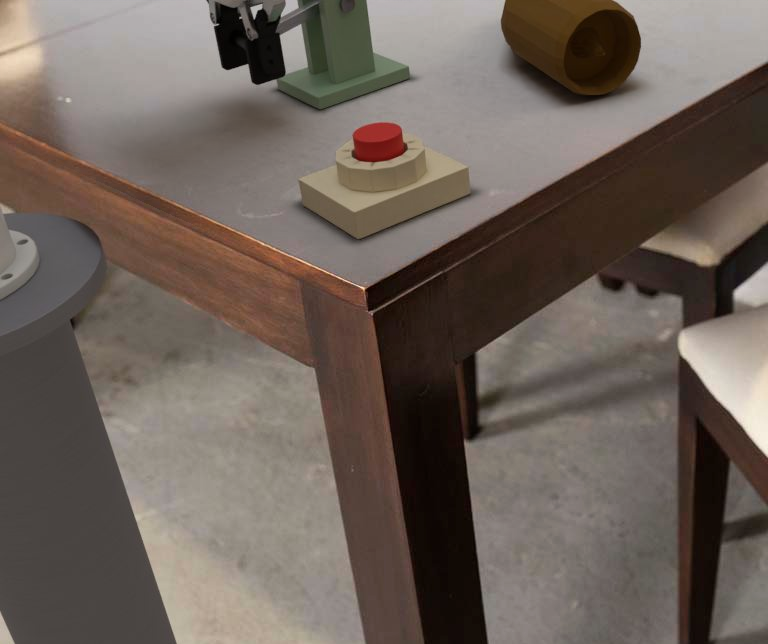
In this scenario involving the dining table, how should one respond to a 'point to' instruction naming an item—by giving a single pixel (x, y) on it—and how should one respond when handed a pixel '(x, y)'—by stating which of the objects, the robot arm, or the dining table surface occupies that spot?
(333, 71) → the mains bracket
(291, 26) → the lever
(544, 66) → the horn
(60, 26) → the dining table surface
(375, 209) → the switch block
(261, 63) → the robot arm
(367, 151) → the light button
